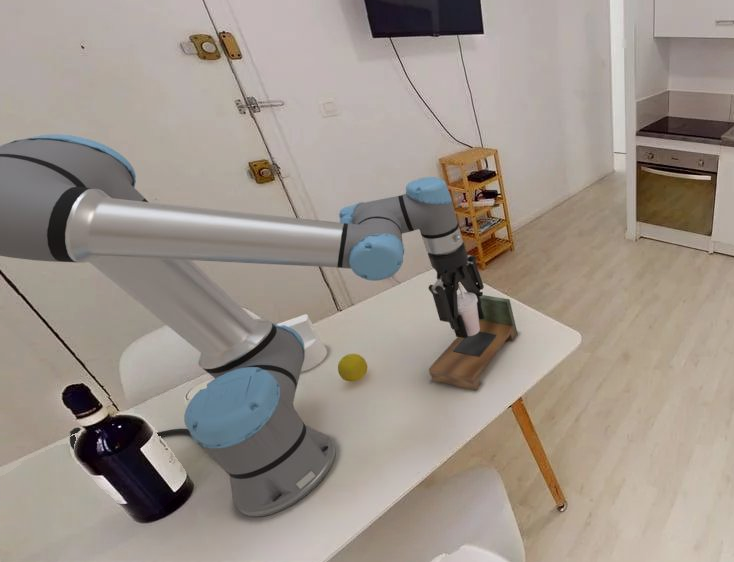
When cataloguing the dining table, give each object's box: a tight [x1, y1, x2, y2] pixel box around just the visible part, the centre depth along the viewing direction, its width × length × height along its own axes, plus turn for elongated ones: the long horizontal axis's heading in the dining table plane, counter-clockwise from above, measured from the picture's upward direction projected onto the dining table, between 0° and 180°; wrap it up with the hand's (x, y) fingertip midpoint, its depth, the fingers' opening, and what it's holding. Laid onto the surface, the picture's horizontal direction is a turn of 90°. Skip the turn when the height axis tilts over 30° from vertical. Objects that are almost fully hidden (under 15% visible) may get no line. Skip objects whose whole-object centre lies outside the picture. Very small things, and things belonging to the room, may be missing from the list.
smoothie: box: [457, 282, 480, 336], centre depth 98 cm, size 6×6×14 cm
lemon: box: [337, 353, 368, 383], centre depth 97 cm, size 6×6×8 cm
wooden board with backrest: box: [428, 294, 518, 391], centre depth 102 cm, size 12×19×12 cm, turn 165°
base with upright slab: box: [276, 313, 328, 373], centre depth 102 cm, size 9×9×12 cm
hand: (470, 326), depth 100 cm, fingers closed on smoothie, 6 cm apart
